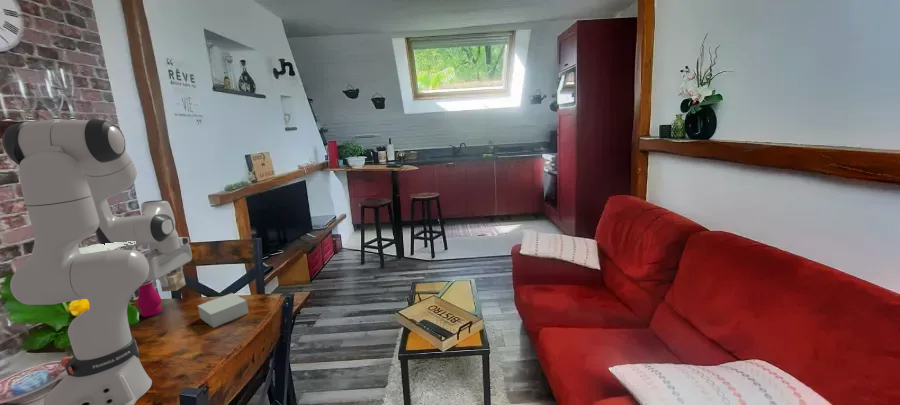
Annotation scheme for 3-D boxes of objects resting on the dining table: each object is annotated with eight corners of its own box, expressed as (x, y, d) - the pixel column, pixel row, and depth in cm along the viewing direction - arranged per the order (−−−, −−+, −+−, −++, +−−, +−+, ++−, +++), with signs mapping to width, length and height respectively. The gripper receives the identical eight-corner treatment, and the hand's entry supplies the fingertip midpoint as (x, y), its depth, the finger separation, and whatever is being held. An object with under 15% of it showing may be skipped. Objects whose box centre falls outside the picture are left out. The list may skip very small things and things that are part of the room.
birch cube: (176, 290, 136) (173, 277, 135) (162, 291, 136) (159, 278, 135) (185, 284, 141) (182, 271, 140) (172, 285, 141) (169, 272, 140)
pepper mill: (154, 317, 144) (141, 266, 140) (135, 318, 144) (122, 267, 140) (168, 307, 151) (156, 259, 147) (150, 308, 151) (138, 260, 147)
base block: (213, 327, 133) (210, 314, 132) (200, 318, 141) (197, 305, 140) (248, 313, 142) (246, 300, 141) (234, 304, 150) (232, 292, 149)
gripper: (152, 254, 125) (161, 294, 128) (191, 236, 145) (199, 271, 148) (132, 256, 125) (142, 295, 128) (174, 237, 145) (182, 272, 148)
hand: (173, 282), depth 138 cm, fingers closed on birch cube, 5 cm apart
